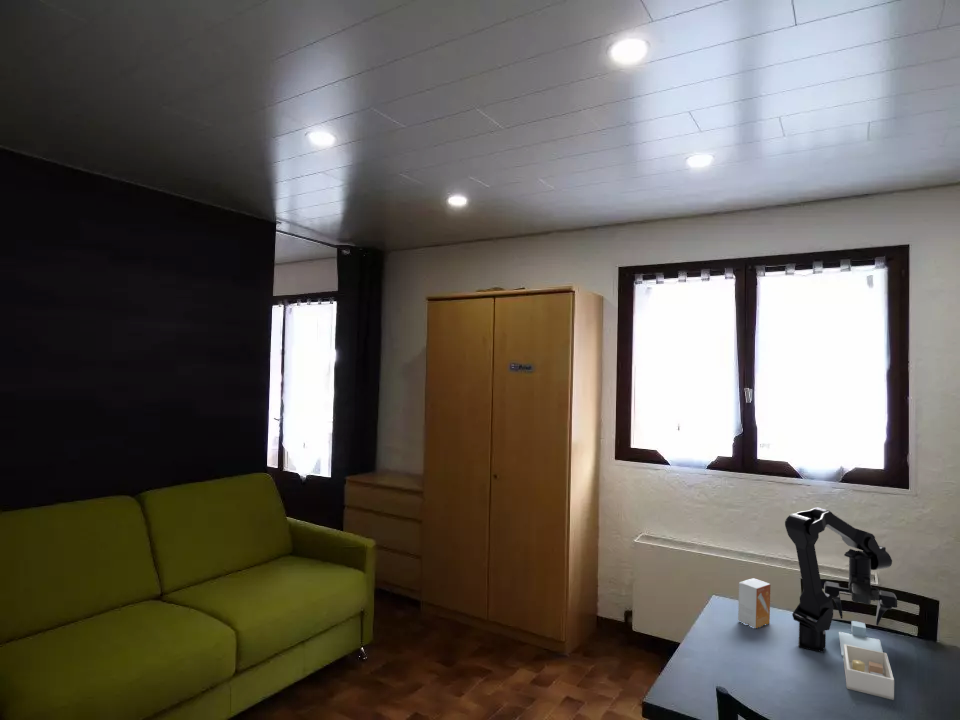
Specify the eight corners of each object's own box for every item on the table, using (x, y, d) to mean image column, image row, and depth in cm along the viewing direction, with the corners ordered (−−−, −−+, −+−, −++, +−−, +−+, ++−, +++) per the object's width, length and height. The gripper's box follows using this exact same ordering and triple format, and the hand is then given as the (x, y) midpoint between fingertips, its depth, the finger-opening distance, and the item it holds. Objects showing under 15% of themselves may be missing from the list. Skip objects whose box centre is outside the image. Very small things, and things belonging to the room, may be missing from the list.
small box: (755, 629, 185) (756, 588, 185) (737, 622, 190) (738, 582, 191) (770, 624, 190) (771, 583, 190) (752, 616, 195) (752, 577, 195)
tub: (846, 688, 152) (847, 669, 152) (843, 661, 166) (843, 643, 166) (893, 700, 147) (894, 680, 147) (886, 671, 161) (886, 653, 161)
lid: (841, 657, 169) (841, 644, 169) (838, 629, 187) (838, 618, 187) (886, 666, 164) (886, 654, 164) (878, 637, 182) (878, 625, 182)
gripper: (825, 573, 180) (824, 624, 180) (900, 585, 171) (899, 639, 171) (824, 562, 189) (823, 611, 189) (895, 573, 180) (894, 624, 180)
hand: (858, 621), depth 182 cm, fingers open, 9 cm apart
